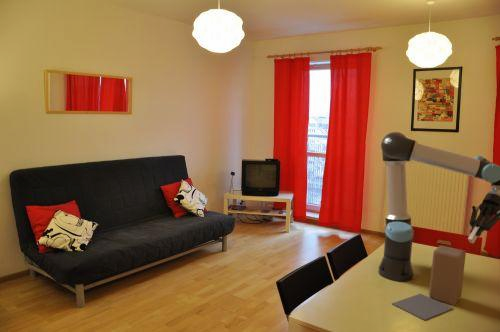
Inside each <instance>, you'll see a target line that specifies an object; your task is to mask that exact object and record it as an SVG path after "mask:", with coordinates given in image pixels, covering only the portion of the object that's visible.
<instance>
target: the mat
mask: <svg viewBox="0 0 500 332" xmlns="http://www.w3.org/2000/svg"><path fill="white" fill-rule="evenodd" d="M391 305H392V306H395V307H396V308H398V309H400V310H402V311H405V312H406V313H407V314H410V315H412V316H414V317H416V318H418V319H420V320H422V321H424V322H425V321H427V320H430V319H431V318H432V319H433V318H435V317H437V316H440V315H443V314H444V313H447V312H450V311H452V310H454V307H452V306H450V305H447V304H445V303H444V302H442V301H439V300H435V299H432V298H430V297H429V296H428V295H427V296H426V295H424V294H422V293H419V294H416V295H412V296H409V297H406V298H404V299H401V300H397V301H395V302H391Z"/></svg>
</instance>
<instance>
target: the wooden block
mask: <svg viewBox="0 0 500 332" xmlns="http://www.w3.org/2000/svg"><path fill="white" fill-rule="evenodd" d="M432 254H433V255H432V262H431V271H430V274H431V275H430V282H429V293H428V297H429V298H432V299H434V300H436V301H438V302H441V303H444V304H445V303H446V304H450V305H452V306H454V305H455V306H456V304H457V302H459V300H460V298H461V297H462V290H463V289H462V288H463V281H464V273H465V265H466V263H465V262H466V254H467V252H466V251H465V250H464V249H460V248H459V249H458V248H453V247H449V246H446V245H445V246H444V245H439V246H438V247H437V248H435V249H434V251H433V253H432Z"/></svg>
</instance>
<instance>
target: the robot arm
mask: <svg viewBox="0 0 500 332" xmlns="http://www.w3.org/2000/svg"><path fill="white" fill-rule="evenodd" d="M380 148H381V149H380V150H381V151H382V152H381V153H382V162H383V163H384V164H385V168H386V169H385V170H386V186H387V187H386V189H387V211H388V213H387V214H386V215H385V216H384V217H385V231H384V233H385V235H384V247H383V249H384V250H383V256H382V258H381V261H380V263H379V264H378V265H379V266H378V270H377V272H378V274H379V275H380V276H382V277H383V278H385V279H387V280H388V279H389V280H392V281H398V282H407V281H412V280H413V279H414V269H413V265H412V261H411V259H412V250H413V249H412V248H413V239H414V238H413V237H414V229H413V225H412V216H411V215H410V214H409V213H408V200H407V198H408V196H407V195H408V194H407V177H406V176H407V175H406V173H407V172H406V164H407V162H410V163H411V162H412V161H414V162H418V163H422V164H426V165H429V166H433V167H437V168H440V169H444V170H447V171H451V172H456V173H458V174H461V175H465V176H470V177H473V178H475V179H480V180H482V181H483V180H484V181H485V182H487V183H490V184H491V186H490V188H489V190H488V191H487V193H486V194H485V195H484V197H483V199H482V201H481V203H480V204H479V205H478V206H475V205H473V206H472V207H471V209H472V212H471V216H470V219H469V225H470V227H471V229H470V231H469V233H470V234H469V235H468V238H467V240H468V241H469V243H470V244H475V242H476V240H477V238H479V237H481V235H482V233H483V232H485V231H486V232H489V231H490V230H491V229H492V228H493V227H494V226H495V225H496V224H497V223H498V222H499V221H500V165H498V164H496V163H493V162H492V161H490V160H488V159H486V158H485V157H483V156H481V155H476V156H475V157H470V156H466V155H462V154H458V153H455V152H451V151H447V150H443V149H439V148H436V147H432V146H429V145H425V144H422V143H421V144H420V143H419V142H418V141H417V140H415V139H412V138H408V137H406V135H404V134H403V133H401V132H398V131H393V132H390V133H387V134H386V135H385V136H384V137H383V139H382V140H381V145H380ZM479 211H480V212H479ZM478 212H479V214H478Z"/></svg>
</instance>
